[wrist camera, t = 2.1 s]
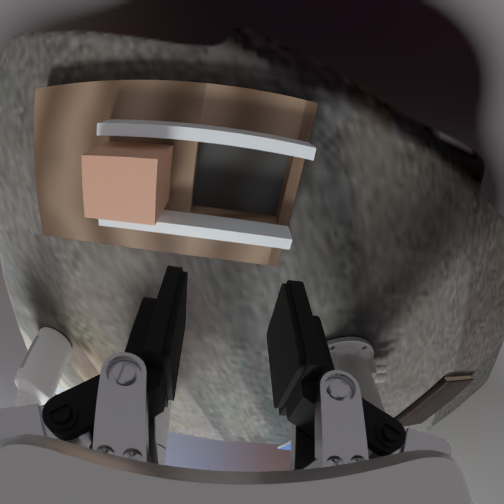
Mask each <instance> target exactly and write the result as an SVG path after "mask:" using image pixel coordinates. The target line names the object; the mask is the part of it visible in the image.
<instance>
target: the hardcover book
mask: <svg viewBox="0 0 504 504" xmlns="http://www.w3.org/2000/svg"><path fill="white" fill-rule="evenodd" d="M473 380H474V379H472V377H471V375H470V376H454V377H442V378H441V379H440V380H439V381H438V382H437V383H436V384H435V385H434V386H433V387H431V388H430V389H429V390H428V391H427V392H426V393H425V394H423V395H422V396H421V397H420V398H419V399H417V400H416V401H415V402H414V403H413V404H411V405H410V406H409V407H408V408H406V409H405V410H404V411H402V412H401V413H400V414H399V415H397V416H396V417H395V419H396V420H398V421H399V422H400V423H401V424H402V426H409V425H415V424H420V423H422V422H424V421H425V420H426V419H428V418H429V417H430V416H432V415H433V414H434V413H436V412H437V411H438V410H439V409H441V408H442V407H443V406H444V405H446V404H447V403H448V402H449V401H451V400H452V399H453V398H454V397H455V396H456V395H458V394H459V393H460V392H461V391H462V390H463V389H464V388H466V387H467V386H468V385H469V384H470V383H471V382H472V381H473Z"/></svg>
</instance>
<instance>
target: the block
mask: <svg viewBox="0 0 504 504" xmlns="http://www.w3.org/2000/svg"><path fill="white" fill-rule="evenodd" d="M172 155H173V145H165V144H152V143H135V142H111V141H108V142H106V143H104V144H102V145H100V146H98V147H96V148H94V149H92V150H91V151H89V152H87V153H85V154H83V155H81V156H82V188H83V203H84V215H85V217H86V218H95V219H104V220H113V221H121V222H130V223H138V224H147V225H155V224H156V222H157V221H158V219H159V217H160V215H161V213H162V212H163V210H164V208H165V206H166V205H167V203H168V201H169V193H170V178H171V166H172Z"/></svg>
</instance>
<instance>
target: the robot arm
mask: <svg viewBox="0 0 504 504" xmlns="http://www.w3.org/2000/svg"><path fill="white" fill-rule="evenodd" d="M186 294H187V272H183V269H182V267H174V266H168V267H167V270H166V273H165V276H164V279H163V282H162V285H161V288H160V291H159V294H158V297H157V299H154V298H148V297H144V298H143V300H142V302H141V305H140V308H139V311H138V314H137V316H136V319H135V322H134V325H133V328H132V331H131V334H130V337H129V340H128V343H127V346H126V349H125V352H120V353H116V354H113V355H111V356H110V357H108V358H107V359H106V360H105V361H104V363H103V365H102V368H101V373H100V375H98V376H95V377H93V378H91V379H89V380H87V381H85V382H83V383H81V384H79V385H77V386H75V387H73V388H71V389H68V390H66V391H64V392H62V393H60V394H58V395H56V396H53V397H52V398H50V399H49V400H48V401H47V402H46V403H45V405H40V406H39V405H38V403H36V404H30V405H24V406H17V407H10V408H3V409H0V504H472V500H471V497H470V493H469V490H468V486H467V483H466V480H465V478H464V475H463V473H462V471H461V468H460V467H459V465H458V463H457V462H456V460H455V459H454V458H453V457H452V456H451V447H450V445H449V443H448V442H447V441H446V440H445V439H443V438H440V437H437V436H433V435H430V434H426V433H423V432H420V431H417V430H414V429H411V428H408V429H406V430H405V429H404V427H403V426H402V424H401V423H400V422H399V421H398V420H396V419H395V418H393V417H391V416H390V415H388V414H387V413H385V411H384V408H383V405H382V402H381V399H380V396H379V393H378V390H377V387H376V384H375V383H382V382H385V381H386V379H387V375H386V372H387V365H378V366H376V365H375V364H374V363H373V358H374V350H373V348H372V345H371V344H370V343H369V342H368V341H367V340H365V339H363V338H359V337H340V338H336V339H331V340H329V341H327V340H326V337H325V334H324V330H323V327H322V324H321V320H320V318H319V317H318V316H313V315H312V311H311V308H310V304H309V301H308V297H307V294H306V291H305V287H304V284H303V282H301V281H291V280H288V281H287V283H286V284H284V283H283V284H282V285H281V289H280V292H279V295H278V298H277V302H276V305H275V308H274V311H273V315H272V318H271V321H270V324H269V327H268V331H267V344H268V354H269V363H270V372H271V382H272V391H273V401H274V407H275V408H279V414H280V415H287V419H288V420H289V421H290V422H291V423H292V431H291V455H290V471H270V472H231V471H230V472H229V471H212V470H200V469H189V468H181V467H173V466H166V465H160V464H158V453H157V432H156V416H157V415H159V414H160V413H162V412H164V408H165V407H168V401H169V400H173V401H174V397H175V390H176V382H177V375H178V369H179V362H180V355H181V349H182V343H183V337H184V331H185V321H186Z"/></svg>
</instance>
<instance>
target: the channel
mask: <svg viewBox="0 0 504 504" xmlns="http://www.w3.org/2000/svg"><path fill="white" fill-rule="evenodd" d="M97 136H133V137H151V138H165V139H177V140H188V141H197V142H206V143H214V144H222V145H230V146H237V147H243V148H250V149H256V150H262V151H268V152H273V153H279V154H284V155H289V156H294V157H299V158H304V159H309V160H314V156H315V152H316V147H314V146H313V145H312V144H310V143H309V142H305V141H301V140H296V139H291V138H286V137H281V136H276V135H271V134H265V133H259V132H254V131H247V130H241V129H234V128H227V127H219V126H211V125H202V124H192V123H182V122H169V121H153V120H126V119H109V120H106V121H103V122H100V123H97ZM98 221H99V225H100V226H108V227H116V228H124V229H133V230H141V231H149V232H157V233H165V234H173V235H181V236H189V237H197V238H205V239H213V240H220V241H228V242H236V243H244V244H251V245H259V246H266V247H274V248H282V249H289V250H290V246H291V243H292V237H291V234H290V231H289V228H288V226H283V225H276V224H269V223H262V222H255V221H248V220H241V219H234V218H226V217H219V216H211V215H203V214H195V213H187V212H179V211H170V210H163V212H162V213H161V215H160V217H159V219H158V221H157V222H156V224H155V225H147V224H138V223H130V222H121V221H113V220H104V219H98Z"/></svg>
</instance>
